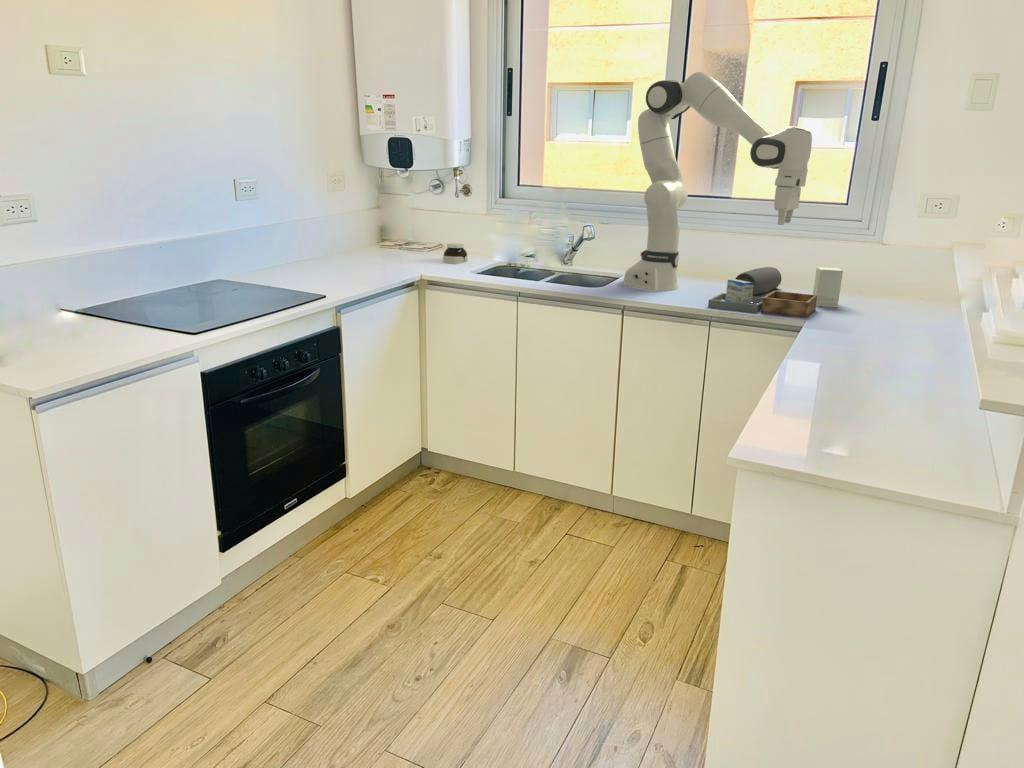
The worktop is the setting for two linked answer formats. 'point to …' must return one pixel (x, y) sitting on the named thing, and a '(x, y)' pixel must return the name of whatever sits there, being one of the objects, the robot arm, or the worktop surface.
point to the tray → (735, 304)
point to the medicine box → (739, 291)
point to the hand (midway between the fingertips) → (784, 223)
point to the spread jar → (455, 254)
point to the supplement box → (827, 286)
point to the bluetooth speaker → (762, 279)
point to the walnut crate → (789, 304)
